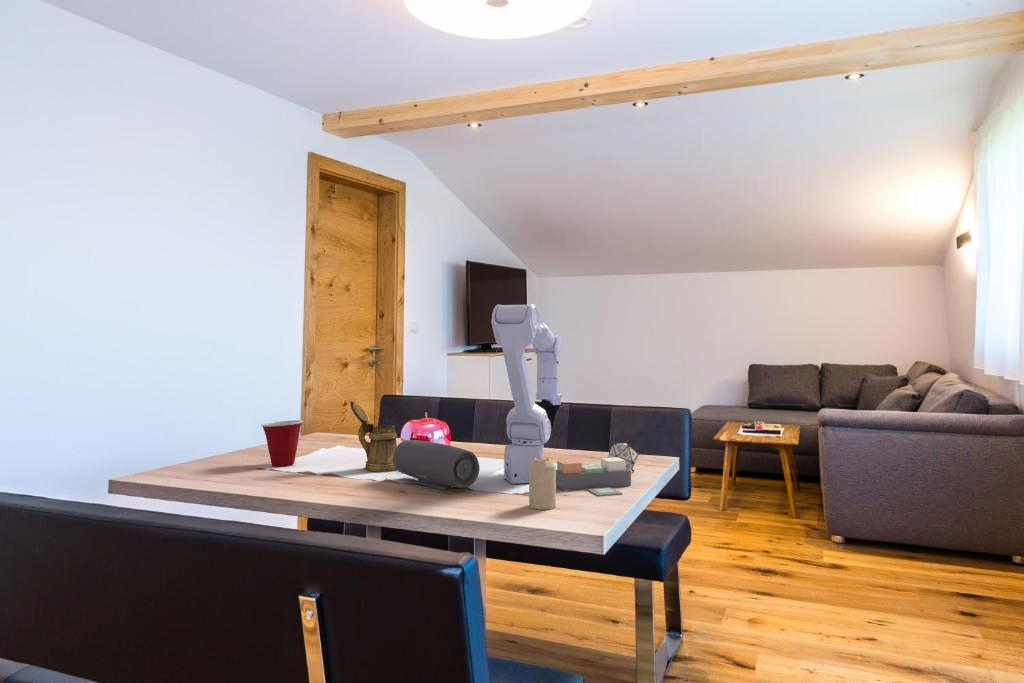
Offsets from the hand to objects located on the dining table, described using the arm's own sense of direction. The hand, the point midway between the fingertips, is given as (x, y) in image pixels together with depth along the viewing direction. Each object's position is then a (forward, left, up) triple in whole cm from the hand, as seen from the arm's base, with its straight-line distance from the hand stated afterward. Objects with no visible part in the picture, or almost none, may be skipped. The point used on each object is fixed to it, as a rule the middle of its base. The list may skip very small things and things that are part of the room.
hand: (547, 429), depth 178 cm
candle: (-14, -37, -11) cm, 41 cm away
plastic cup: (-68, +25, -11) cm, 73 cm away
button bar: (+3, -22, -10) cm, 24 cm away
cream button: (+9, -22, -8) cm, 25 cm away
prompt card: (+3, -29, -10) cm, 31 cm away
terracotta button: (-2, -22, -8) cm, 23 cm away
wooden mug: (-44, +13, -11) cm, 47 cm away
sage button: (+3, -22, -9) cm, 24 cm away
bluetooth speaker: (-32, -11, -11) cm, 36 cm away
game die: (+17, -10, -11) cm, 22 cm away
